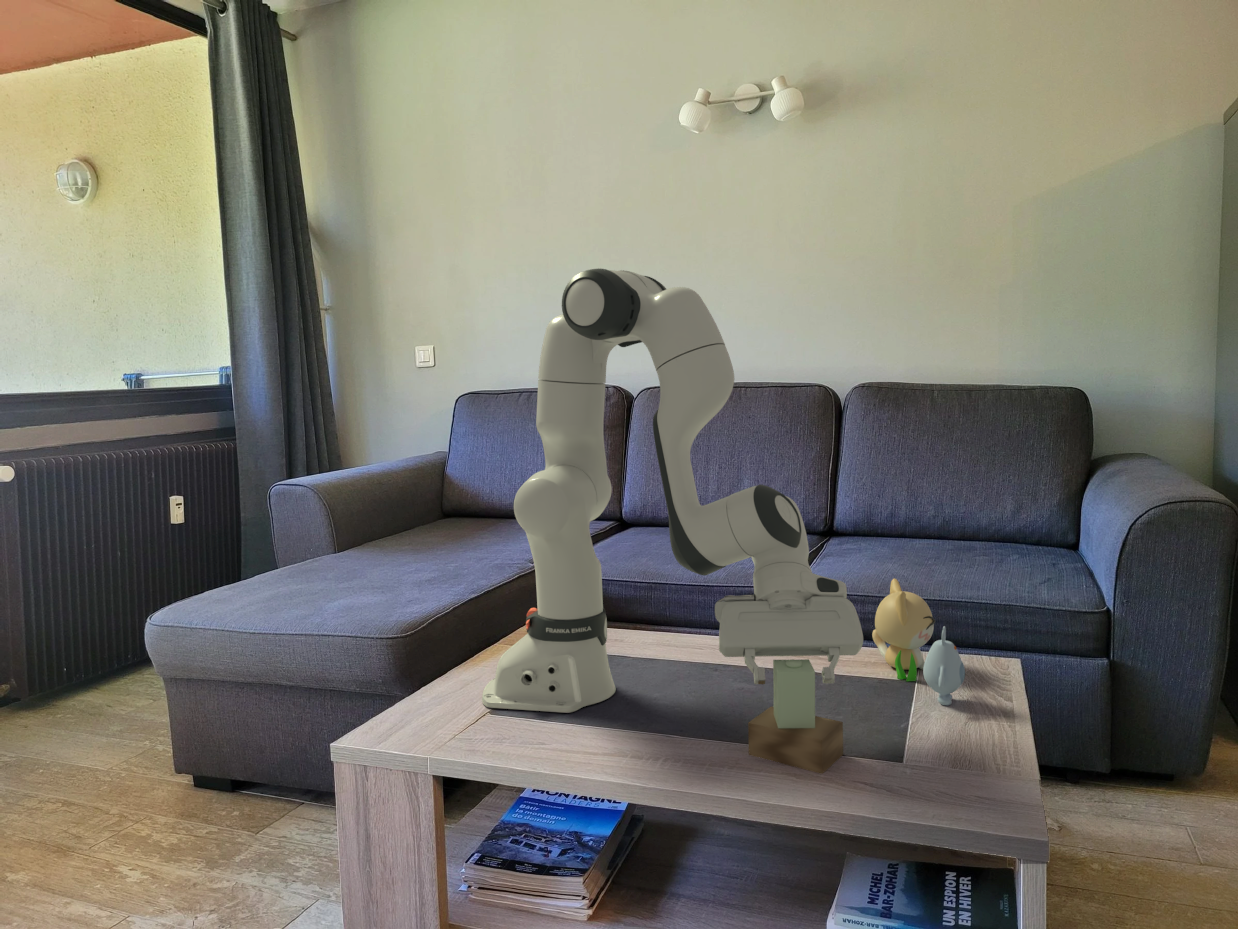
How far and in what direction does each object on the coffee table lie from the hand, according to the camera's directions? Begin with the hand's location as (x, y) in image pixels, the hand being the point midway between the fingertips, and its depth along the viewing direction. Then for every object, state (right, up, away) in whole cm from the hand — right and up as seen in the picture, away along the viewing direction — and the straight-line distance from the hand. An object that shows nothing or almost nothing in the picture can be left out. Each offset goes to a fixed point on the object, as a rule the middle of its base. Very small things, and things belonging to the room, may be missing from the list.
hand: (794, 682), depth 122 cm
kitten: (+27, -6, +35) cm, 44 cm away
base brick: (+1, -11, +2) cm, 11 cm away
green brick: (0, -6, +1) cm, 6 cm away
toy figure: (+28, -8, +19) cm, 34 cm away
